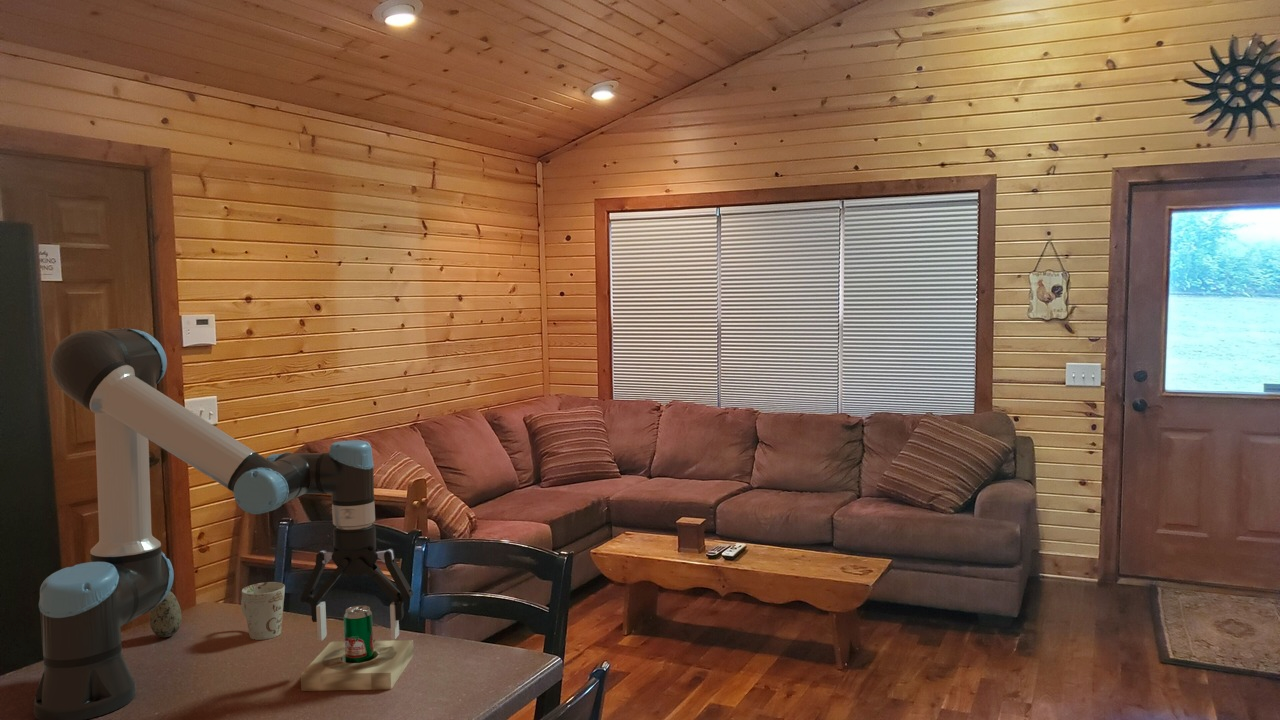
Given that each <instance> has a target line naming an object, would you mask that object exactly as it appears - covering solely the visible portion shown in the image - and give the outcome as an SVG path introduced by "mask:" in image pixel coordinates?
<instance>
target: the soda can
mask: <svg viewBox="0 0 1280 720" xmlns="http://www.w3.org/2000/svg"><path fill="white" fill-rule="evenodd" d="M373 626H374V625H373V613H372V610H371V608H370V606H368V605H353V606H350V607H347V608H346V609H345V613H344V615H343V635H344V638H343V639H344V641H345V662H346V663H362V662H367V661H370V660H372V659H374V649H373V640H374V631H373Z"/></svg>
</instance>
